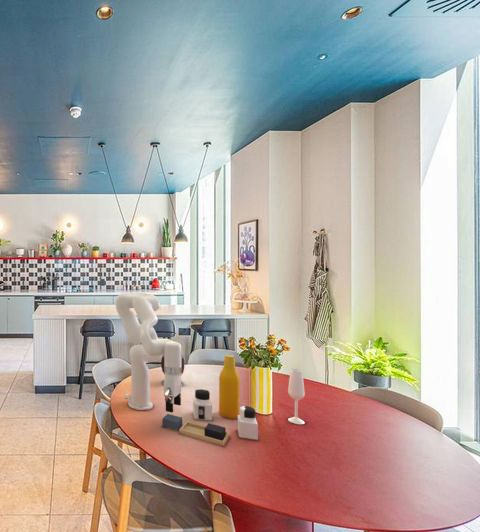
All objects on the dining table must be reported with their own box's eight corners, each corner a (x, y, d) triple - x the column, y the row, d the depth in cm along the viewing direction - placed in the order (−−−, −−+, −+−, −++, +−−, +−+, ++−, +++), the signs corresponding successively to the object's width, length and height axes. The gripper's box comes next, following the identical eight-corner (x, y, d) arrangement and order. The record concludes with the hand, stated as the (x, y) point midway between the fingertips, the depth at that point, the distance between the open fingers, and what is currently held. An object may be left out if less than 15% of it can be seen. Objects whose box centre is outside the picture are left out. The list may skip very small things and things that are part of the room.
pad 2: (204, 437, 144) (204, 428, 144) (208, 432, 149) (208, 423, 149) (222, 442, 140) (222, 433, 140) (225, 437, 145) (225, 427, 145)
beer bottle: (226, 420, 162) (227, 358, 162) (215, 412, 171) (215, 353, 171) (243, 418, 164) (244, 357, 164) (231, 410, 173) (231, 352, 173)
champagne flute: (307, 425, 158) (307, 372, 158) (291, 423, 159) (291, 371, 159) (301, 418, 164) (301, 368, 164) (285, 417, 166) (285, 367, 166)
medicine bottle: (255, 433, 150) (255, 405, 150) (257, 441, 143) (258, 412, 143) (237, 430, 152) (237, 403, 152) (239, 438, 145) (239, 409, 145)
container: (212, 421, 161) (212, 393, 161) (194, 419, 162) (194, 392, 162) (209, 414, 168) (209, 388, 168) (192, 413, 170) (192, 386, 170)
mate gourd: (169, 378, 223) (169, 347, 223) (188, 383, 212) (188, 351, 212) (155, 383, 212) (155, 351, 212) (174, 389, 202) (175, 355, 202)
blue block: (162, 427, 155) (162, 418, 155) (167, 422, 160) (167, 413, 160) (177, 431, 151) (177, 422, 151) (182, 426, 156) (182, 417, 156)
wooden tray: (179, 434, 149) (179, 429, 149) (186, 425, 156) (186, 421, 156) (223, 447, 138) (223, 441, 138) (229, 437, 146) (229, 432, 146)
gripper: (171, 364, 164) (172, 400, 164) (157, 373, 150) (157, 412, 150) (187, 366, 160) (188, 404, 160) (174, 376, 146) (174, 416, 146)
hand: (173, 408), depth 155 cm, fingers open, 9 cm apart
